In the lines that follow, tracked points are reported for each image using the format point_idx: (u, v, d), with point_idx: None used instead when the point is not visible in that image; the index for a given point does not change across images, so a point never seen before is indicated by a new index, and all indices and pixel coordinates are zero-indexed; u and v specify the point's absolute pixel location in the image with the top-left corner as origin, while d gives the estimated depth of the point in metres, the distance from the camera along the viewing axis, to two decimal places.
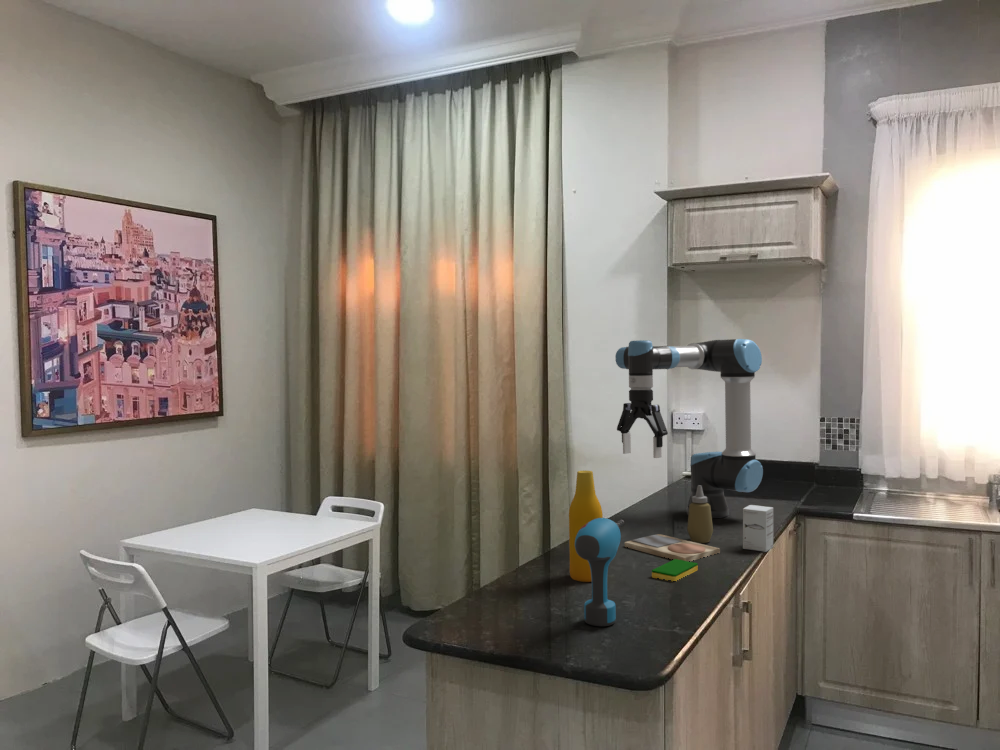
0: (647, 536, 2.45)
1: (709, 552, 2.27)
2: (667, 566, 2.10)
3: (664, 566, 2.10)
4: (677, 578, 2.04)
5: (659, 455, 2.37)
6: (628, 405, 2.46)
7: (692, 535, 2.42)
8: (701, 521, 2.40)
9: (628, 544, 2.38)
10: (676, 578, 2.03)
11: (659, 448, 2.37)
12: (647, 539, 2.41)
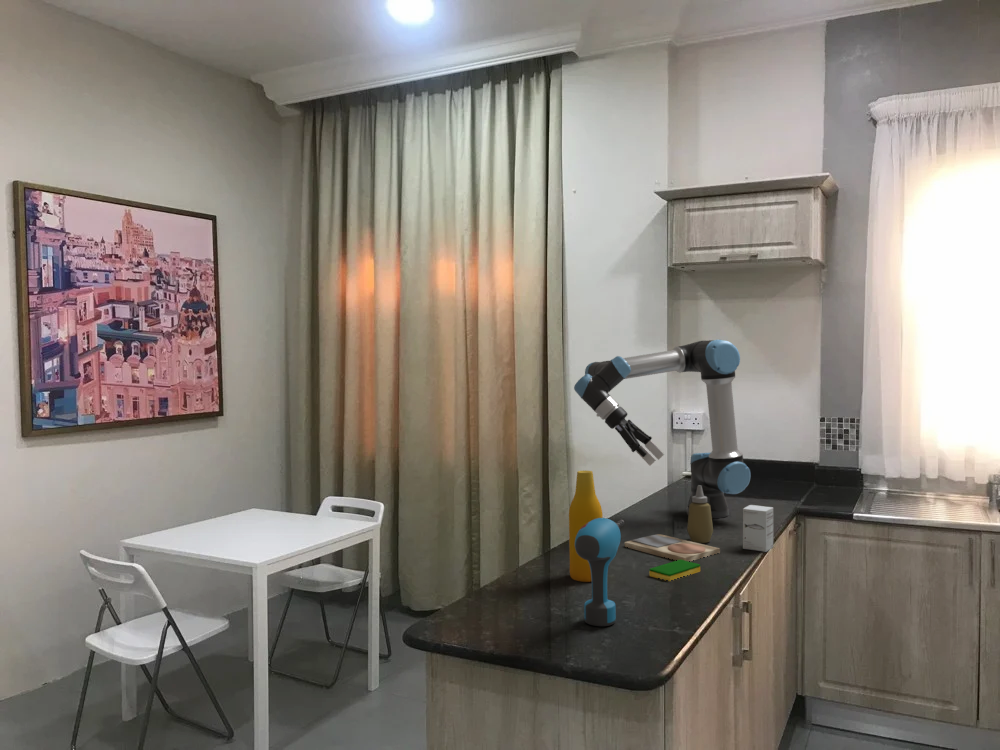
0: (647, 536, 2.45)
1: (709, 552, 2.27)
2: (667, 566, 2.10)
3: (664, 565, 2.11)
4: (672, 578, 2.04)
5: (652, 460, 2.42)
6: None
7: (692, 535, 2.42)
8: (701, 521, 2.40)
9: (628, 544, 2.38)
10: (671, 578, 2.04)
11: (647, 455, 2.43)
12: (647, 539, 2.41)
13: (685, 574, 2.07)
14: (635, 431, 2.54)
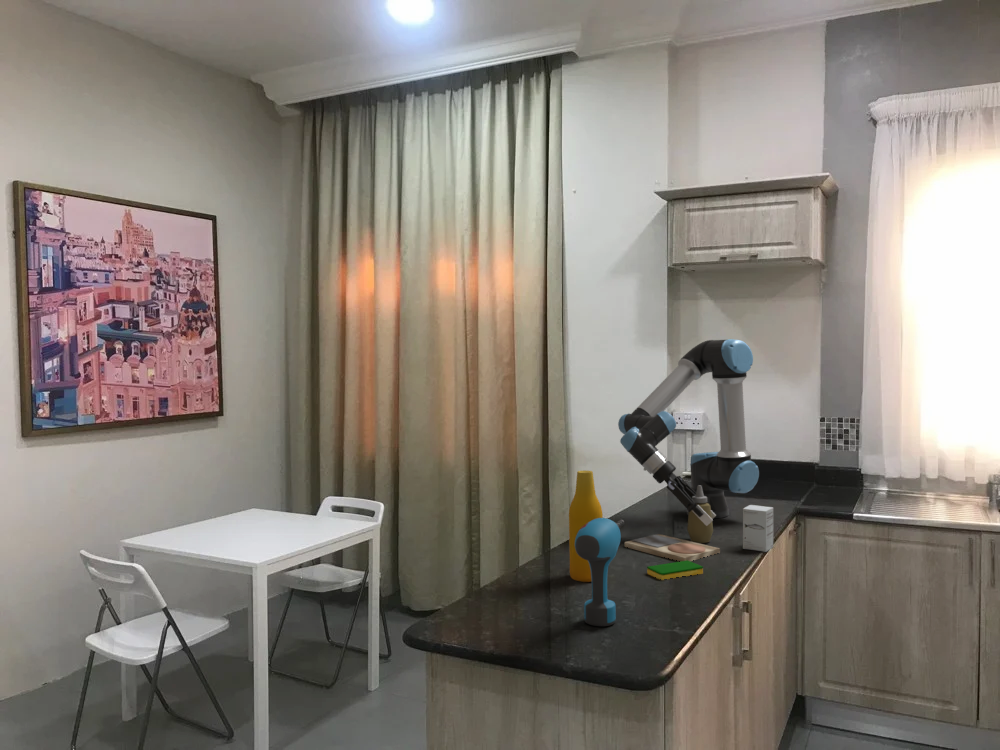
0: (647, 536, 2.45)
1: (709, 552, 2.27)
2: (667, 565, 2.11)
3: (664, 565, 2.11)
4: (665, 577, 2.05)
5: (709, 520, 2.39)
6: None
7: (692, 535, 2.42)
8: (701, 521, 2.40)
9: (628, 544, 2.38)
10: (664, 577, 2.04)
11: (704, 515, 2.39)
12: (647, 539, 2.41)
13: (682, 575, 2.07)
14: (684, 487, 2.47)
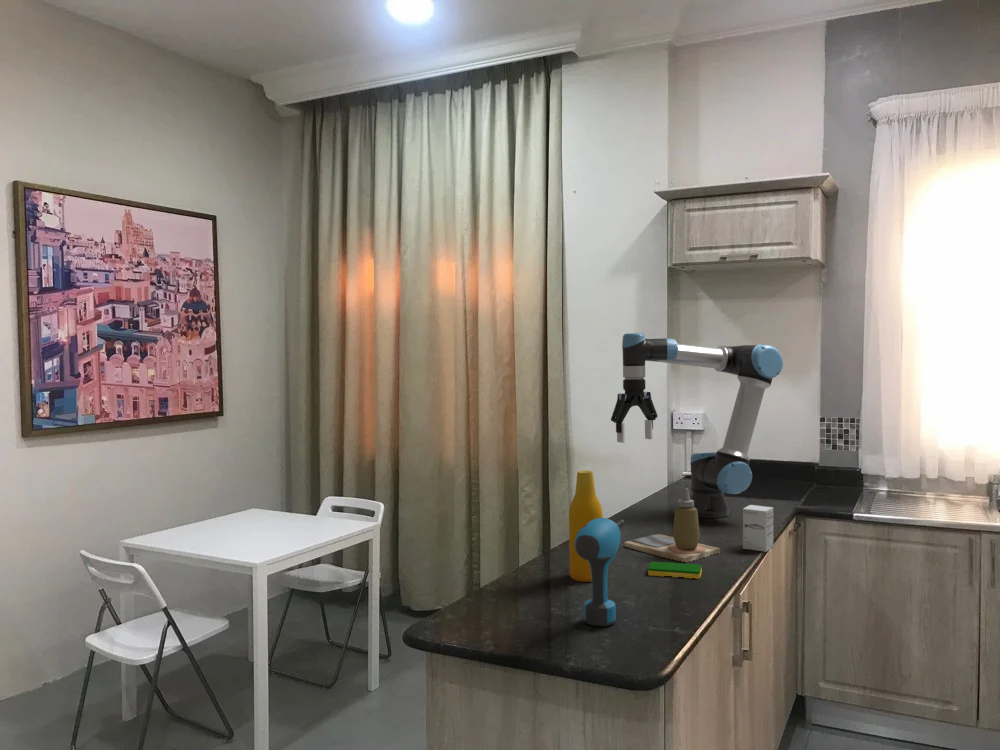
0: (647, 536, 2.45)
1: (709, 552, 2.27)
2: (670, 564, 2.12)
3: (668, 563, 2.13)
4: (653, 573, 2.08)
5: (621, 440, 2.55)
6: None
7: (678, 541, 2.28)
8: (687, 526, 2.26)
9: (628, 544, 2.38)
10: (651, 572, 2.09)
11: (621, 434, 2.55)
12: (647, 539, 2.41)
13: (673, 575, 2.07)
14: (642, 405, 2.61)
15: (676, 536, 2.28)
